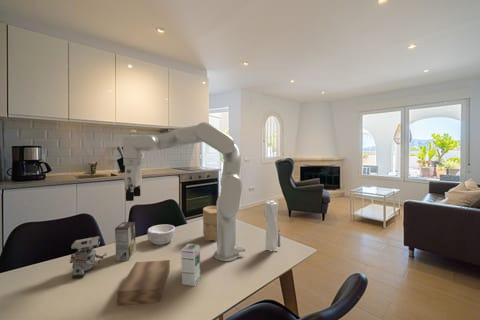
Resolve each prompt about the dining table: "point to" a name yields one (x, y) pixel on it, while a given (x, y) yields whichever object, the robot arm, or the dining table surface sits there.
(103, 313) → the dining table surface
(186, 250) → the syrup box
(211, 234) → the container
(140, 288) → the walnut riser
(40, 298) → the dining table surface
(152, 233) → the paper bowls
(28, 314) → the dining table surface
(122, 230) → the coffee box
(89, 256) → the figurine
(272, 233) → the skyscraper
